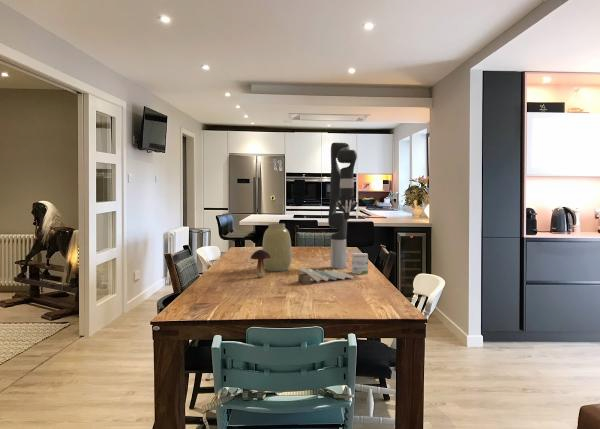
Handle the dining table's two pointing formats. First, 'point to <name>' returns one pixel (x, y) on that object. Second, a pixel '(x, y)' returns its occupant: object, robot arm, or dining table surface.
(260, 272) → the decorative mushroom
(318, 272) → the domino
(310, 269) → the domino
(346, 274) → the domino
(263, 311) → the dining table surface
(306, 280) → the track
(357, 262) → the ink box
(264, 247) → the vase
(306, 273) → the domino
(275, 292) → the dining table surface
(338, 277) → the domino
